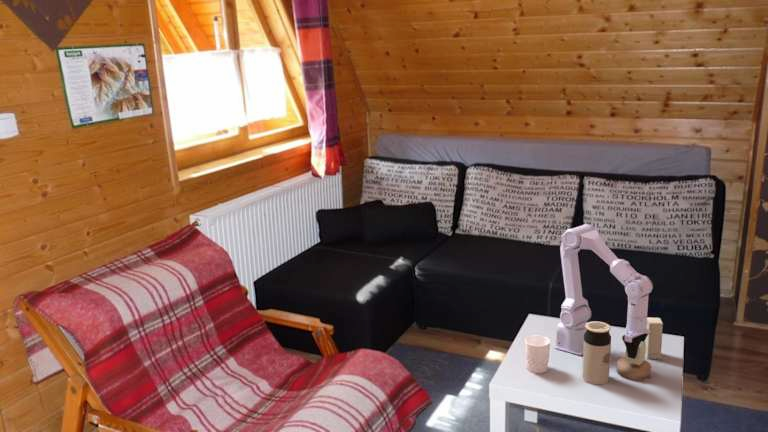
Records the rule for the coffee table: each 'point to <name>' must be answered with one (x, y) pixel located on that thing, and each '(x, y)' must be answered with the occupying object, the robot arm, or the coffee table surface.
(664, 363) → the coffee table surface
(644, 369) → the coaster stand
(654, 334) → the box
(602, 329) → the travel mug
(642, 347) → the block
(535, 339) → the white cup
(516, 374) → the coffee table surface
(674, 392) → the coffee table surface
